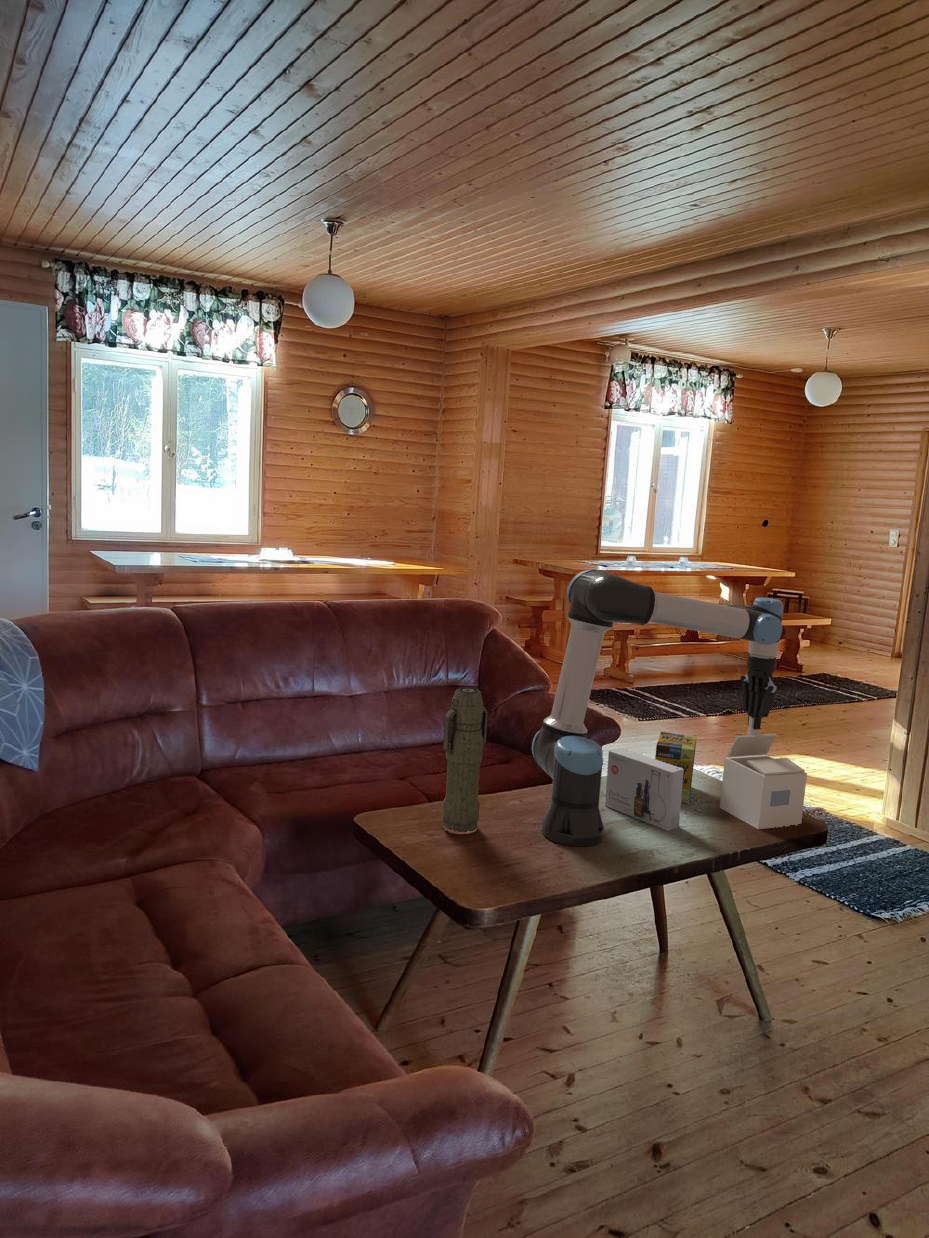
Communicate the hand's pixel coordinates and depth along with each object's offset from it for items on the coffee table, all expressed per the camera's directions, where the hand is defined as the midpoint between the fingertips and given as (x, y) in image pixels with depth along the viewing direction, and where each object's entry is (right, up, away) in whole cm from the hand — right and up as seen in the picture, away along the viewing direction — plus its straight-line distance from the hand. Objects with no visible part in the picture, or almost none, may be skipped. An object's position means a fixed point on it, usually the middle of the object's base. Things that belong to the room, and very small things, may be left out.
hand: (752, 739), depth 244 cm
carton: (+1, -20, -3) cm, 20 cm away
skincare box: (-32, -19, -8) cm, 39 cm away
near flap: (+3, -6, -9) cm, 11 cm away
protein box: (-19, -17, +13) cm, 28 cm away
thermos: (-80, -19, -24) cm, 85 cm away
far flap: (0, -2, 0) cm, 2 cm away
